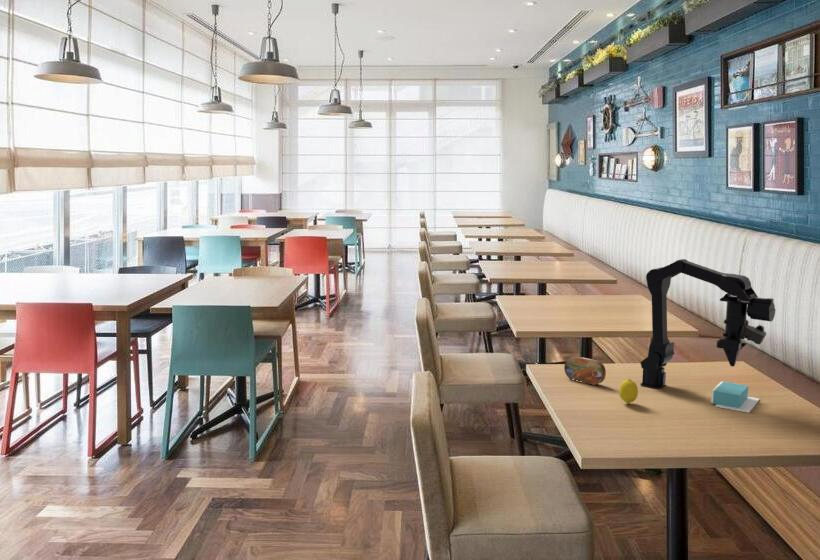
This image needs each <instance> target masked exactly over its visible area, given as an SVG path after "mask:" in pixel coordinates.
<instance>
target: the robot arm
mask: <svg viewBox="0 0 820 560" xmlns="http://www.w3.org/2000/svg"><path fill="white" fill-rule="evenodd" d="M679 274H684V275H686V276H690V277H692V278H695V279H698V280H700V281H703V282H706V283H709V284H711V285H713V286H716V287H718V288H719V289H720V290H721V291H723V292H724V293H725V294H724V296H722V297H721V298H720V299H719V301H720V302H726V311H725V319H724V320H723V324H724V325H725V326H724V332H722V333H723V334H722V337H721V338H719V339H717V341H716V348H718V349H722V350H723V352H724V353H725V356H726V359H727V361H728V363H729V365H730V367H735V366H736V363H737V361H738V357H739V354H740V353H741V352H740V351H741V350H742V349H743V348H745V347H746V345H747V343H746V342H743V340H745V339H746V340H747V341H751V342H753V343H754V344H756V345H761V344H762V343H763V341H764V339H765V337H766V335H767V332H766V331H765V327H764V326H763V325H761V324H759V325H757V326H751V325H749V322H750V321H748V319H747V316H748V317H749V318H750V319H751V320H757V321H764V322H769V323H770V322H772V321H773V320H774V319H775V316H776V306H775V303H774V298H771V297H770V298H769V297H767V298H765V297H764V298H763V297H758V296H759V295H758V294H757V293H756V291H755V290H754V289H753V287H752V282H751V280H750V278H749V277H748V276H746V275H743V274H737V273H736V274H735V273H728V272H727V273H726V272H720V271H719V270H716V269H712V268H710V267H706V266H703V265H701V264H697V263H694V262H692V261H689V260H687V259H685V258H682V259H678V260H675V261H674V262H672V263H669V264H668V265H665V266H662V267H657V268H656V267H655V268H653V269H650V270H649V271H648V272H647V273H646V275H645V281H646V285H647V288H648V291H649V293H650V295H651V322H652V323H651V327H652V328H651V329H652V330H651V331H652V333H651V334H652V337H651V338H652V339H651V341H650V344H649V347H648V352H647V356H646V357H645V358H644V359H643V360H641V361H640V367H641V369H642V381H641V383H640V386H643V387H648V388H654V389H661V388H663V387H664V386H665V385H666V382H667V381H666V377H667V372H665V367H666V366H667V365H668V363H669V362H670V361H671V360H673V356H674V355H676V353H675V351H674V348H675V343H674V342H673V341H672V342H670V339H669V338H668V310H667V309H668V308H667V307H668V306H667V305H668V304H667V303H668V301H667V296H668V292H669V290H670V286H671V281H672V278H674V277H676V276H678V275H679Z"/></svg>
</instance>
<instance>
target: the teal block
mask: <svg viewBox="0 0 820 560" xmlns="http://www.w3.org/2000/svg"><path fill="white" fill-rule="evenodd" d="M748 394H749V385H745V384H740V383H734V382H730V381H729V382H727V381H720V382H719V383H718V384H717V385H716V386H715V387H714V388H713V389H712V390H711V398H710V399H711V401H710V403H711V404H714V405H716V404H719V405H725V406H730V407H736V408H739V407H740V406H741V405H742V404H743V403H744V402H745V400H746V399H747V398H748V397H749V396H748Z"/></svg>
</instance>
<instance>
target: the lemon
mask: <svg viewBox="0 0 820 560" xmlns="http://www.w3.org/2000/svg"><path fill="white" fill-rule="evenodd" d="M638 393H639V389H638V385H637V384H636V382H635V381H633V380H631V378H628V379H626V380H624V381H622V382H621V383H620V385H619V390H618V394H619V397H620V399H621V400H622V401H623V402H625V403H626V404H627V405H629V404H631V403H633V402H634V401H636V399H637V398H638V395H639V394H638Z"/></svg>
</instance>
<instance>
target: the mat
mask: <svg viewBox="0 0 820 560" xmlns="http://www.w3.org/2000/svg"><path fill="white" fill-rule="evenodd" d="M759 401H760V398H757V397H752V396H748V398H747V399H746V400H745V402H744V403H743V404H742V405H741V406H740V407H739V408H736V407H730V406H725V405H719V404H715V408H721V409H727V410H732V411H738V412H743V413H748V414H749V413H750V412H751V411H752V410H753V409H754V408H755V406H756V405H757V403H758V402H759Z"/></svg>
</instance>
